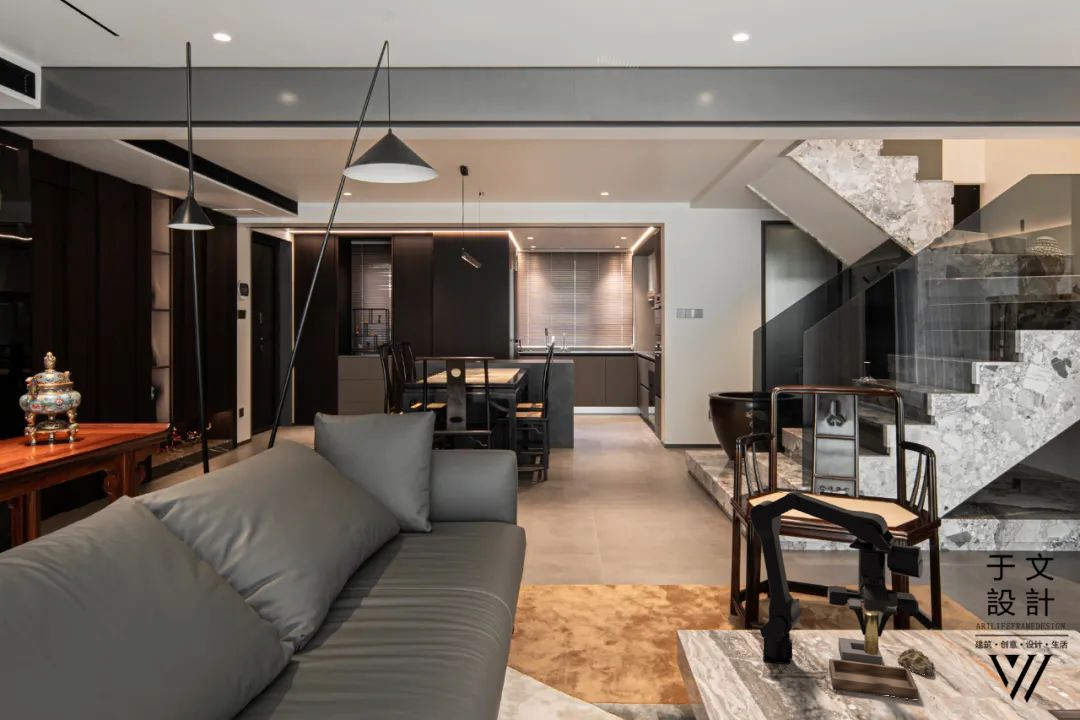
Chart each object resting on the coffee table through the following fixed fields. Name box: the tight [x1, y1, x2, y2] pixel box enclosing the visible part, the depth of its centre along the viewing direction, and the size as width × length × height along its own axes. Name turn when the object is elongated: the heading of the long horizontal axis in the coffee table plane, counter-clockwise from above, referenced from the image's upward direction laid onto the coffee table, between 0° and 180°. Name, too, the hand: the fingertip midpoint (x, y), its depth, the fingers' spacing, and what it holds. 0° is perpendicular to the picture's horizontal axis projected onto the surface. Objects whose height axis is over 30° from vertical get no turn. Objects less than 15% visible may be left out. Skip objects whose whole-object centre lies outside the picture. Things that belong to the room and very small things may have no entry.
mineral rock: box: [897, 648, 935, 677], centre depth 171 cm, size 11×4×8 cm
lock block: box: [838, 637, 883, 665], centre depth 176 cm, size 9×9×3 cm
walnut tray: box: [828, 658, 919, 700], centre depth 162 cm, size 18×11×2 cm, turn 72°
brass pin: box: [863, 611, 880, 655], centre depth 162 cm, size 3×3×9 cm
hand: (871, 635), depth 162 cm, fingers closed on brass pin, 3 cm apart
